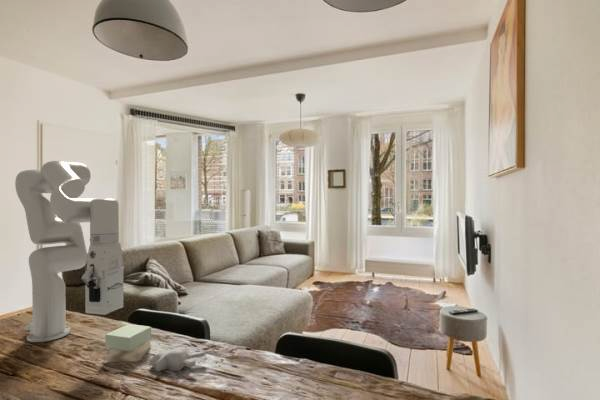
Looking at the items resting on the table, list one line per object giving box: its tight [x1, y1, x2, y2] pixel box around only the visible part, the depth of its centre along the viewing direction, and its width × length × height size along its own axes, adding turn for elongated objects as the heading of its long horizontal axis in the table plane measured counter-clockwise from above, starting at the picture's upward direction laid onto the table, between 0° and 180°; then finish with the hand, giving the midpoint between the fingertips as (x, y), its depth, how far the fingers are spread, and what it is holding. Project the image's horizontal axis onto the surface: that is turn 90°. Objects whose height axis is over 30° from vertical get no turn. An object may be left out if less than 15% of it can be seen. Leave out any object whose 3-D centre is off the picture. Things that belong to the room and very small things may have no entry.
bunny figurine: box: [148, 346, 206, 372], centre depth 97 cm, size 10×5×15 cm
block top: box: [104, 323, 152, 351], centre depth 105 cm, size 9×9×4 cm
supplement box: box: [84, 267, 124, 316], centre depth 101 cm, size 7×7×13 cm
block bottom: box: [107, 340, 151, 363], centre depth 105 cm, size 9×9×4 cm
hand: (105, 297), depth 101 cm, fingers closed on supplement box, 7 cm apart
